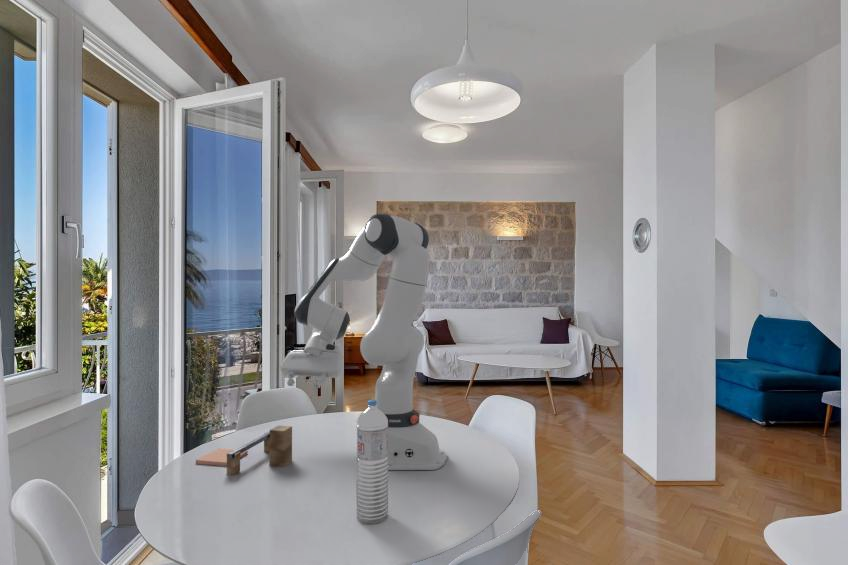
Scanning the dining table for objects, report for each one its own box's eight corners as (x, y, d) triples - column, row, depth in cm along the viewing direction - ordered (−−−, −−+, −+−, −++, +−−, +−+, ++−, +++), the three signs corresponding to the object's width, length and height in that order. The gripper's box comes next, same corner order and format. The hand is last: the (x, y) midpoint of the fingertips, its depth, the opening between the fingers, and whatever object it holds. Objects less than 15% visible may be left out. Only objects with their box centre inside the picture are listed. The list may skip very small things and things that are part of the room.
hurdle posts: (275, 449, 140) (275, 432, 140) (235, 475, 120) (235, 454, 120) (267, 449, 140) (267, 431, 140) (226, 474, 120) (226, 453, 120)
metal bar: (273, 434, 140) (274, 431, 140) (232, 458, 120) (232, 454, 120) (270, 434, 140) (270, 430, 140) (228, 458, 120) (228, 453, 120)
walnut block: (291, 461, 130) (292, 426, 130) (283, 466, 125) (284, 430, 126) (277, 459, 131) (278, 425, 131) (269, 465, 126) (269, 430, 127)
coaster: (247, 453, 136) (247, 450, 136) (226, 466, 126) (226, 462, 126) (218, 451, 138) (218, 448, 138) (195, 463, 128) (195, 460, 128)
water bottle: (386, 525, 93) (386, 404, 93) (353, 525, 93) (353, 404, 94) (389, 509, 99) (389, 397, 100) (359, 509, 100) (359, 397, 100)
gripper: (286, 344, 152) (270, 378, 142) (342, 346, 148) (329, 382, 138) (292, 355, 157) (277, 389, 147) (347, 358, 152) (335, 393, 142)
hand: (303, 385), depth 142 cm, fingers open, 8 cm apart
